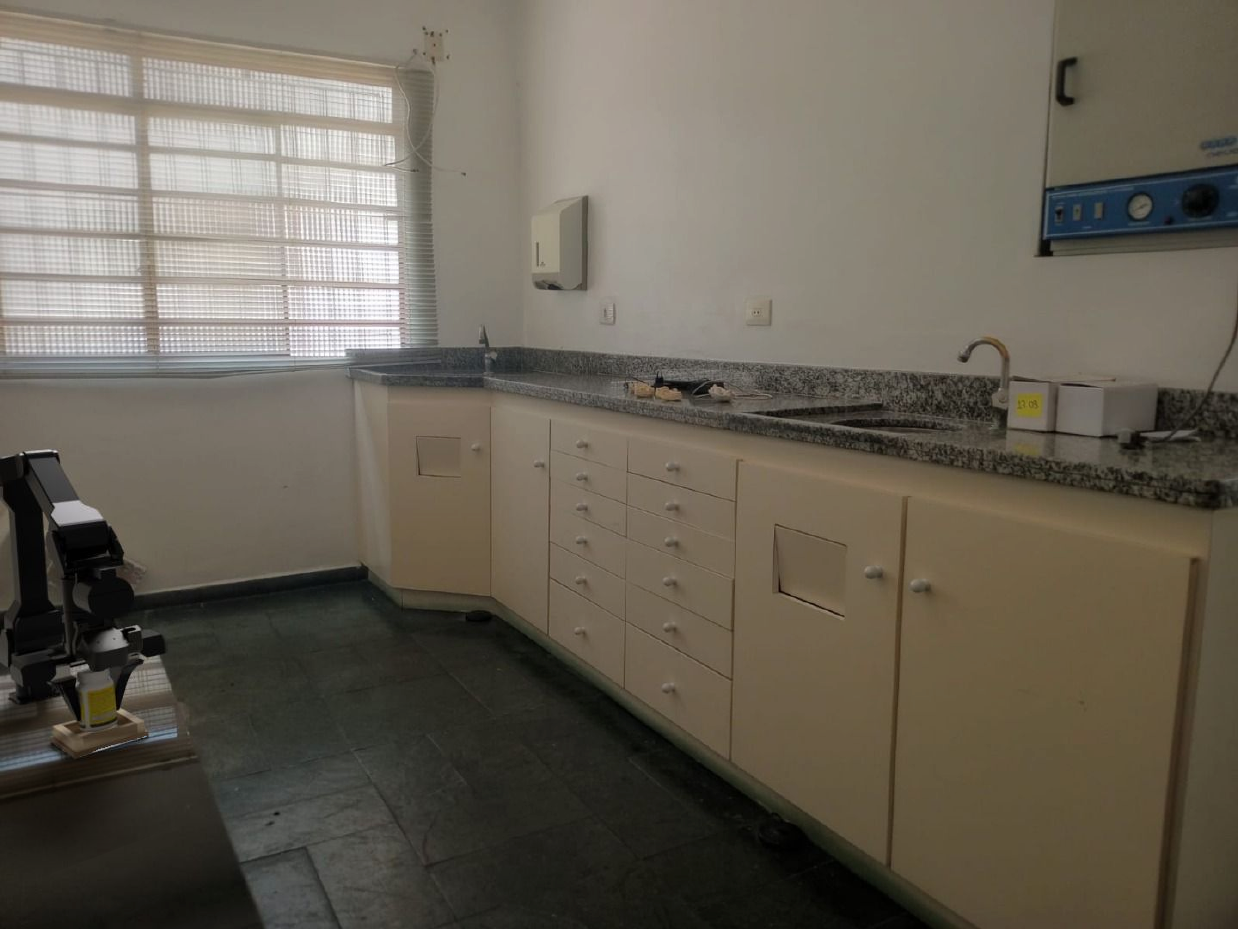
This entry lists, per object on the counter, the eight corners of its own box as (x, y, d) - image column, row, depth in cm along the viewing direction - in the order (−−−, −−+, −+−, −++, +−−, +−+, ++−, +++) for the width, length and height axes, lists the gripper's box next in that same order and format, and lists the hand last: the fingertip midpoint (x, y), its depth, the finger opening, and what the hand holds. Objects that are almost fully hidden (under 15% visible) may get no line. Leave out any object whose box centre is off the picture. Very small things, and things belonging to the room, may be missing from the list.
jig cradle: (51, 742, 134) (49, 726, 134) (122, 721, 141) (121, 706, 141) (75, 759, 128) (73, 742, 128) (148, 736, 135) (147, 721, 135)
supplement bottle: (124, 720, 137) (119, 663, 136) (104, 733, 132) (98, 674, 131) (93, 719, 137) (88, 663, 136) (71, 732, 132) (65, 674, 132)
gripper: (30, 633, 120) (42, 751, 122) (179, 602, 134) (188, 709, 136) (3, 619, 128) (15, 730, 130) (147, 591, 142) (156, 692, 143)
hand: (97, 715), depth 134 cm, fingers closed on supplement bottle, 5 cm apart
